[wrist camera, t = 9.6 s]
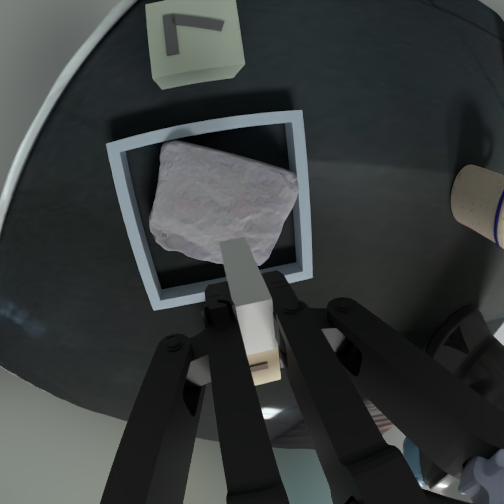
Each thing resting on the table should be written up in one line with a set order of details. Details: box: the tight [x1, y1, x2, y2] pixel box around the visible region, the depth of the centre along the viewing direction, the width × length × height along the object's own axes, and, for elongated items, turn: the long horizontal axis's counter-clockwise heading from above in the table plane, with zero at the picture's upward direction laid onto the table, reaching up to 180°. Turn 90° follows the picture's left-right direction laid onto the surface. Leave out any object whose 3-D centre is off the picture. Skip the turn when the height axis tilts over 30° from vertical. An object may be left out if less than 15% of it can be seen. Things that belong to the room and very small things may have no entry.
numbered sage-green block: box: [145, 0, 245, 90], centre depth 16 cm, size 6×6×6 cm
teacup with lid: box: [451, 165, 504, 249], centre depth 26 cm, size 12×9×12 cm
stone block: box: [149, 140, 299, 266], centre depth 24 cm, size 12×5×10 cm
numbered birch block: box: [247, 344, 281, 385], centre depth 29 cm, size 6×6×6 cm
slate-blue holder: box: [106, 110, 313, 310], centre depth 25 cm, size 16×16×2 cm
